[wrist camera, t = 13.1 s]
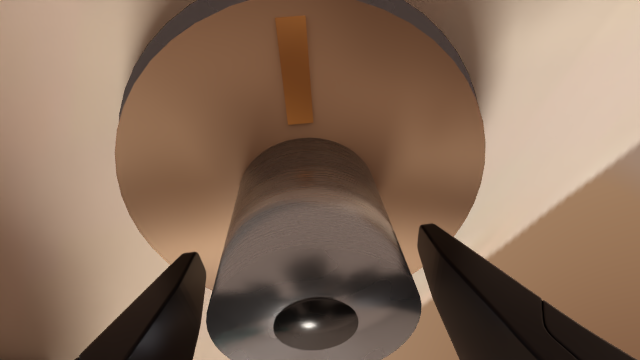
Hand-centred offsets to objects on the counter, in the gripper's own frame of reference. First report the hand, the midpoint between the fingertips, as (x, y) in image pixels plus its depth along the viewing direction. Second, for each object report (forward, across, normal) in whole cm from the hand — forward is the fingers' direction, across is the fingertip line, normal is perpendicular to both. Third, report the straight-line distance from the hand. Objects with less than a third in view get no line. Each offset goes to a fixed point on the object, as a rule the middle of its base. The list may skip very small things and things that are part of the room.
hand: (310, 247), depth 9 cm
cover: (+2, 0, 0) cm, 2 cm away
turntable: (+4, 0, +1) cm, 4 cm away
